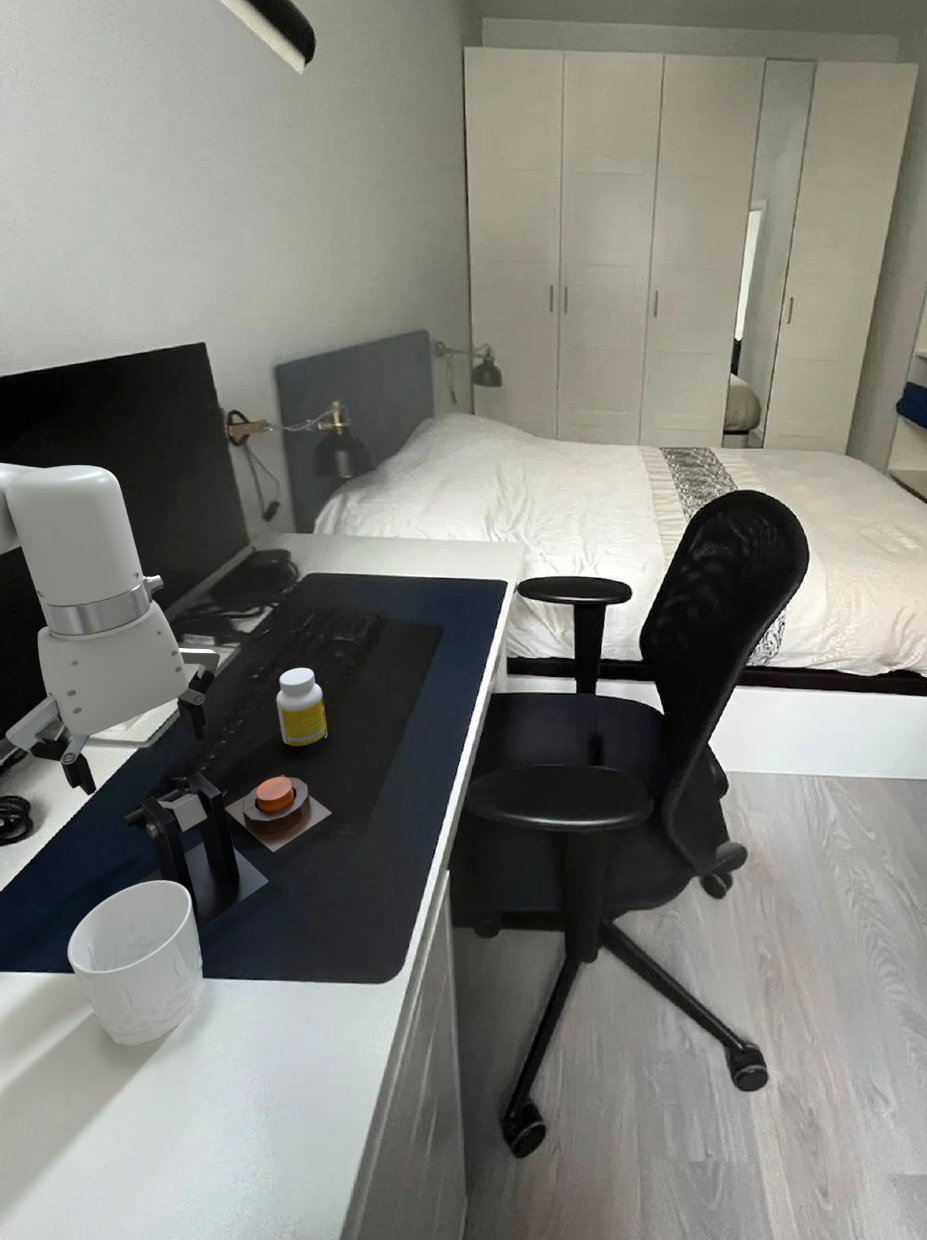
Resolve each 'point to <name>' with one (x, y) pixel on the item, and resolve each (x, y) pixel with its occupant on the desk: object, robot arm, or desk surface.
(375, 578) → the desk surface
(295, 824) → the button box
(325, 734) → the supplement bottle
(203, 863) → the bracket
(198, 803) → the lever
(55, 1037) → the desk surface
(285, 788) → the button
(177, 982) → the white cup
